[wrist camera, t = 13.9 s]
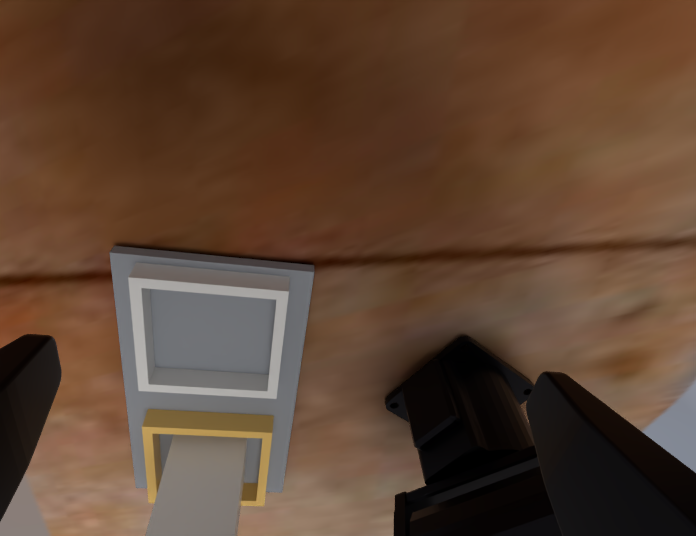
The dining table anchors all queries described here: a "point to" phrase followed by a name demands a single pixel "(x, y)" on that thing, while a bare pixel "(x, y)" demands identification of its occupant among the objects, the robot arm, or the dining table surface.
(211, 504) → the plug
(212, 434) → the socket panel
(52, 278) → the dining table surface
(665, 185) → the dining table surface
